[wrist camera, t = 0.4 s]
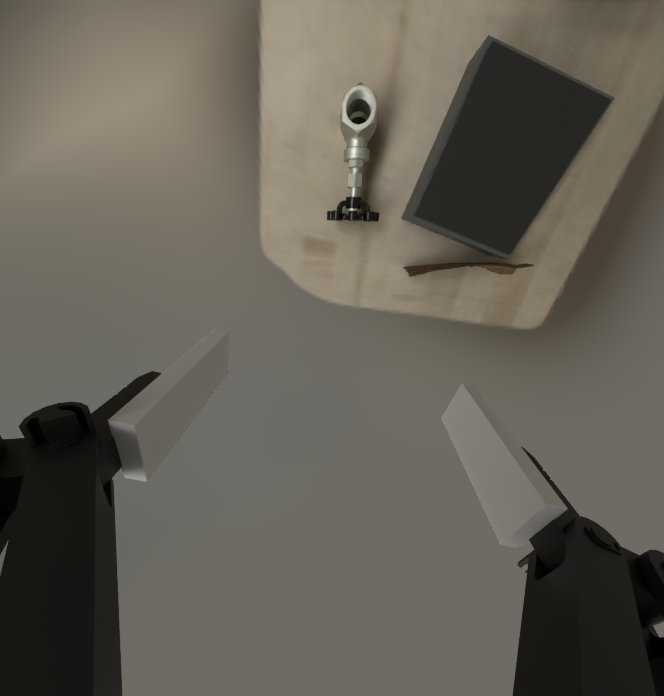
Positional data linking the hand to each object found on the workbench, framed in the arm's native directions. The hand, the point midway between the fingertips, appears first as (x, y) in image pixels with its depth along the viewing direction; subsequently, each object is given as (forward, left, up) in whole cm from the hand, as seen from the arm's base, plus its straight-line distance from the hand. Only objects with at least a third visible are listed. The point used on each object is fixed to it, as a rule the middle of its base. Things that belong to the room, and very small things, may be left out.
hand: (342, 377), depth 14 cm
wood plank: (-7, +14, -28) cm, 32 cm away
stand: (-18, +11, -27) cm, 35 cm away
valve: (-13, -4, -28) cm, 31 cm away
